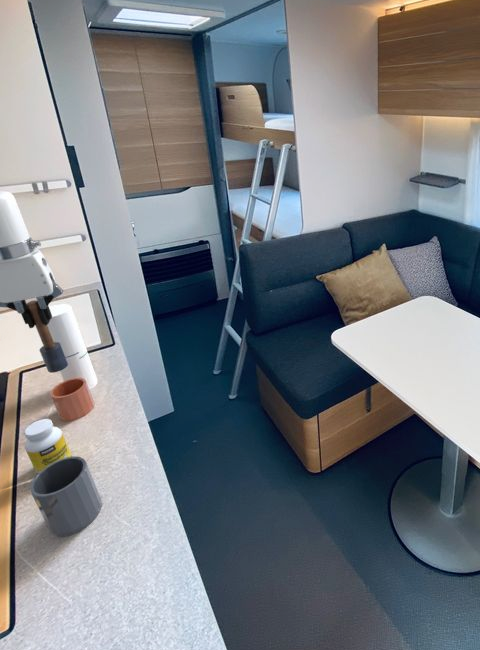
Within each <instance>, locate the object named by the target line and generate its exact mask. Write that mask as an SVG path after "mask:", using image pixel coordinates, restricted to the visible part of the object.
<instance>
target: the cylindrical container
mask: <svg viewBox="0 0 480 650" xmlns="http://www.w3.org/2000/svg"><path fill="white" fill-rule="evenodd" d="M49 309H50V312H51V314H52V319H50V321H49V324H48V325H47V326H48V329H49V331H50V334H51V336H52V339H53V341H54V342H59V343H60V345H61V347H62V350H63V352H64V355H65V357H66V360H67V363H68V366H67V367H66V368H65V369H63V370H61V371H59V373H60V375H61V378H62V380H63V382H64V381H66V380H69V379H73V378H83V379H85V380H86V382H87V385H88V387H89V390H92V389H94V387H96V385H97V384H98V378H97V374H96V371H95V369H94V367H93V364H92V361H91V358H90V356H89V352H88V350H87V347H86V344H85V341H84V339H83V336H82V333H81V331H80V328H79V324H78V322H77V319H76V315H75V314H74V311H73V308H72V305H70V304H69V303H61V304H60V303H58V304H55V305H51V306H49Z"/></svg>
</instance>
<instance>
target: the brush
mask: <svg viewBox="0 0 480 650" xmlns="http://www.w3.org/2000/svg"><path fill="white" fill-rule="evenodd" d="M26 303H27V306H28V309H29V311H30V314H31V316H32V319H33V321H34V324H35V326H34V327H35V328H36V331H37V333H38V336H39V338H40V341H41V343H42V346H41V347H40V348H39V353H40V355H41V358H42V360H43V362H44V365H45V367H46V370H47V372H49V373H58V372H60V371H61V370H63V369H65V368H66V367H67V366H68V363H67V360H66V357H65V355H64V352H63V350H62V347H61V345H60V343H59V342H54V341H53V339H52V336H51V334H50V331H49V329H48V326H47V325H44V324H43V322H42V319H41V317H40V314H39V309H40V308H39V304H38V301H37V299H36V300H29V301H28V302H26Z"/></svg>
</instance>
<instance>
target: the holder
mask: <svg viewBox="0 0 480 650" xmlns="http://www.w3.org/2000/svg"><path fill="white" fill-rule="evenodd" d="M90 390H91V389H90ZM90 390H89V387H88V385H87V382H86V380H85V379H83V378H73V379H69V380H66V381H64V380H63V381H62V382H59V383H58V384H57V385H55V386H54V387H53V388H52V389H50V392H49V396H50V399H51V401H52V403H53V406H54V408H55V411H56V413H57V415H58V417H59V419H60V421H62V422H73V421H76V420H79V419H82V418H84V417H85V416H87V415H88V414H89V413H91V412H92V410H93V409H94V408H95V401H94V399H93V397H92V393H91V391H90Z"/></svg>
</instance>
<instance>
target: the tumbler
mask: <svg viewBox="0 0 480 650" xmlns="http://www.w3.org/2000/svg"><path fill="white" fill-rule="evenodd" d="M29 490H30V491H29V492H30V493H31V496H32V498H33V501H34V502H35V504H36V506H37V507H38V509H39V511H40V513H41V516H42V518H43V519H44V521H45V523H46V526H47V527H48V529H49V531H50V533H51V534H52V535H53V536H56V537H60V538H61V537H69V536H72V535H75V534H77V533H79V532H81V531H83V530H84V529H85V528H87V527H88V526H89V525H90V524H92V523H93V522H94V520H95V519H96V518H97V517H98V516H99V514H100V512H101V510H102V506H103V502H102V498H101V496H100V493H99V491H98V488H97V486H96V483H95V480H94V478H93V476H92V473H91V471H90V468H89V466H88V464H87V461H86V459H85V458H83V457H81V456H77V455H75V456H72V455H71V457H67V458H63V459H60V460H58V461H56V462H54V463H52V464H50V465H49V466H47V467H45V468H44V469H43V470H42V471H41V472H40V473H38V474H37V473H36V476H35V477H34V478H33V479H32V481H31V483H30V486H29Z"/></svg>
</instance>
